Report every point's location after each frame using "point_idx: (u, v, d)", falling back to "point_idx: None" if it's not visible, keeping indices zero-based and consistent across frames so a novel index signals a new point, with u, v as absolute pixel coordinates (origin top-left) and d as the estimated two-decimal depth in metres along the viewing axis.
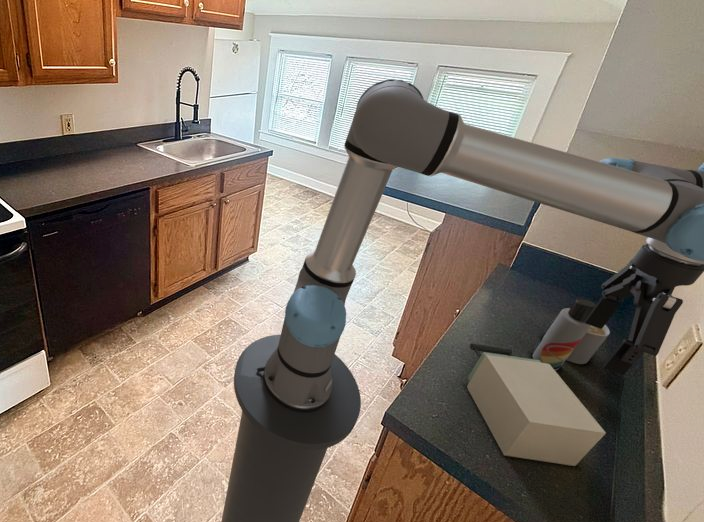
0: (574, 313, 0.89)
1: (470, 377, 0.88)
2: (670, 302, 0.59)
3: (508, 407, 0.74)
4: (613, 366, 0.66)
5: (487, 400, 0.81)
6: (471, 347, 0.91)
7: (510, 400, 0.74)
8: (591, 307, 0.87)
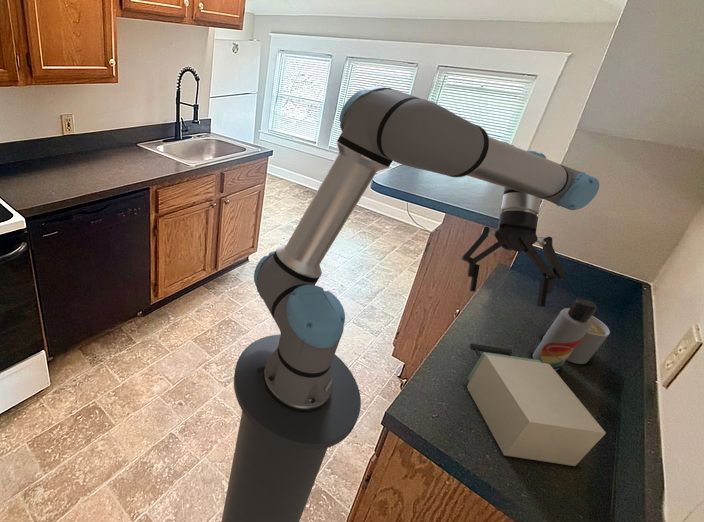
0: (574, 313, 0.89)
1: (470, 377, 0.88)
2: None
3: (508, 407, 0.74)
4: None
5: (487, 400, 0.81)
6: (471, 347, 0.91)
7: (510, 400, 0.74)
8: (591, 307, 0.87)
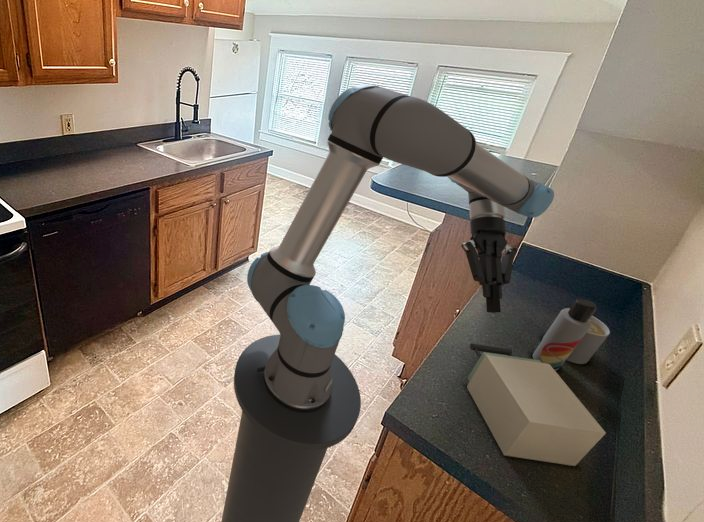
0: (574, 313, 0.89)
1: (470, 377, 0.88)
2: None
3: (508, 407, 0.74)
4: None
5: (487, 400, 0.81)
6: (471, 347, 0.91)
7: (510, 400, 0.74)
8: (591, 307, 0.87)
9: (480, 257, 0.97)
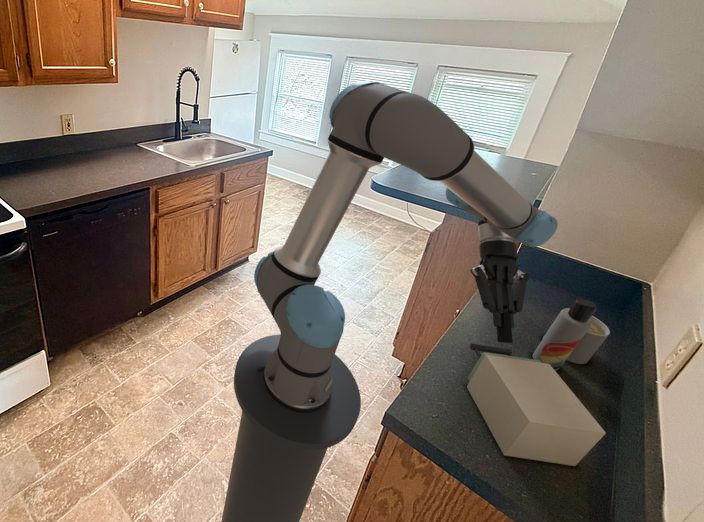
0: (574, 313, 0.89)
1: (470, 377, 0.88)
2: None
3: (508, 407, 0.74)
4: None
5: (487, 400, 0.81)
6: (471, 347, 0.91)
7: (510, 400, 0.74)
8: (591, 307, 0.87)
9: (490, 283, 0.92)
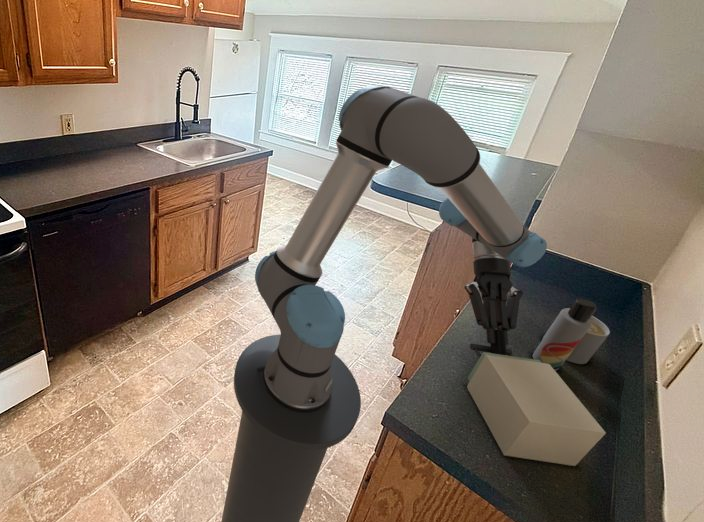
0: (574, 313, 0.89)
1: (470, 377, 0.88)
2: None
3: (508, 407, 0.74)
4: None
5: (487, 400, 0.81)
6: (471, 347, 0.91)
7: (510, 400, 0.74)
8: (591, 307, 0.87)
9: (484, 300, 0.93)
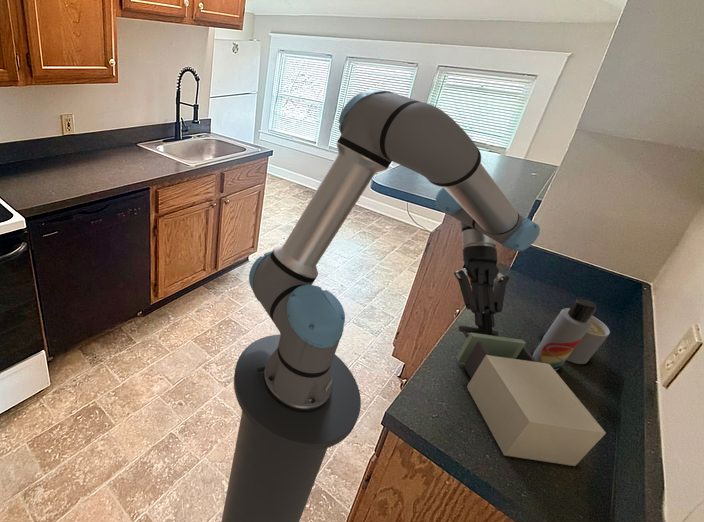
0: (574, 313, 0.89)
1: (458, 357, 0.93)
2: None
3: (508, 407, 0.74)
4: None
5: (487, 400, 0.81)
6: (460, 329, 0.97)
7: (510, 400, 0.74)
8: (591, 307, 0.87)
9: (472, 285, 0.98)
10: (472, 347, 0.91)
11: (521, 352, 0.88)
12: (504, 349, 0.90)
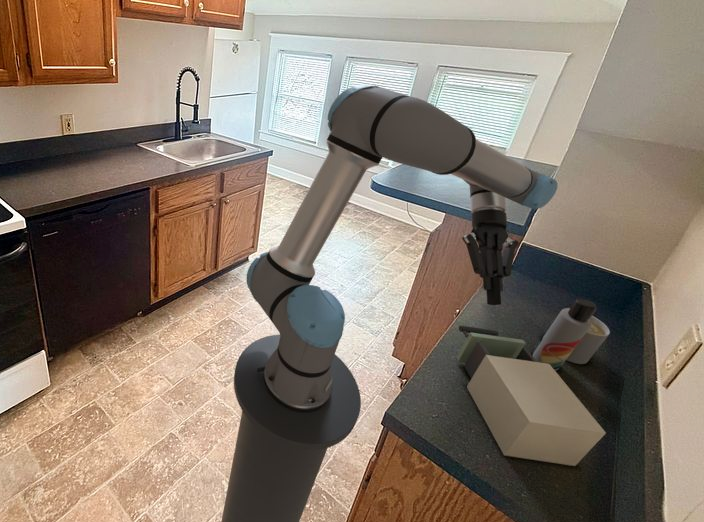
0: (574, 313, 0.89)
1: (458, 356, 0.93)
2: None
3: (508, 407, 0.74)
4: None
5: (487, 400, 0.81)
6: (460, 329, 0.97)
7: (510, 400, 0.74)
8: (591, 307, 0.87)
9: (481, 250, 0.97)
10: (472, 347, 0.91)
11: (521, 352, 0.88)
12: (504, 349, 0.90)
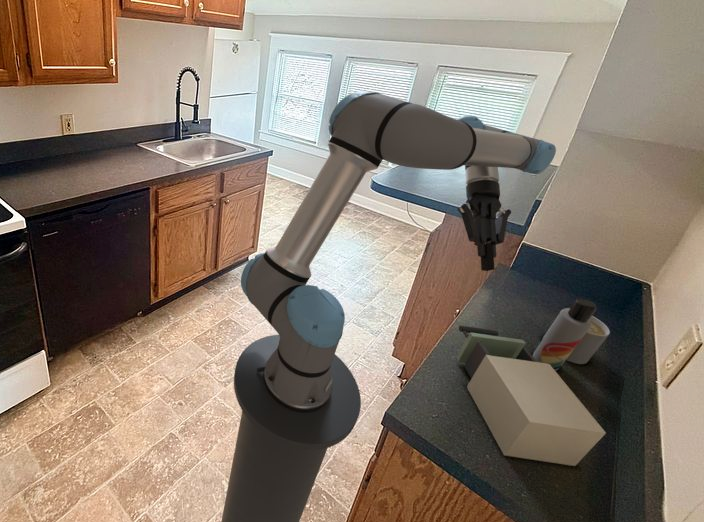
0: (574, 313, 0.89)
1: (458, 356, 0.93)
2: None
3: (508, 407, 0.74)
4: None
5: (487, 400, 0.81)
6: (460, 329, 0.97)
7: (510, 400, 0.74)
8: (591, 307, 0.87)
9: (475, 219, 1.01)
10: (472, 347, 0.91)
11: (521, 352, 0.88)
12: (504, 349, 0.90)
